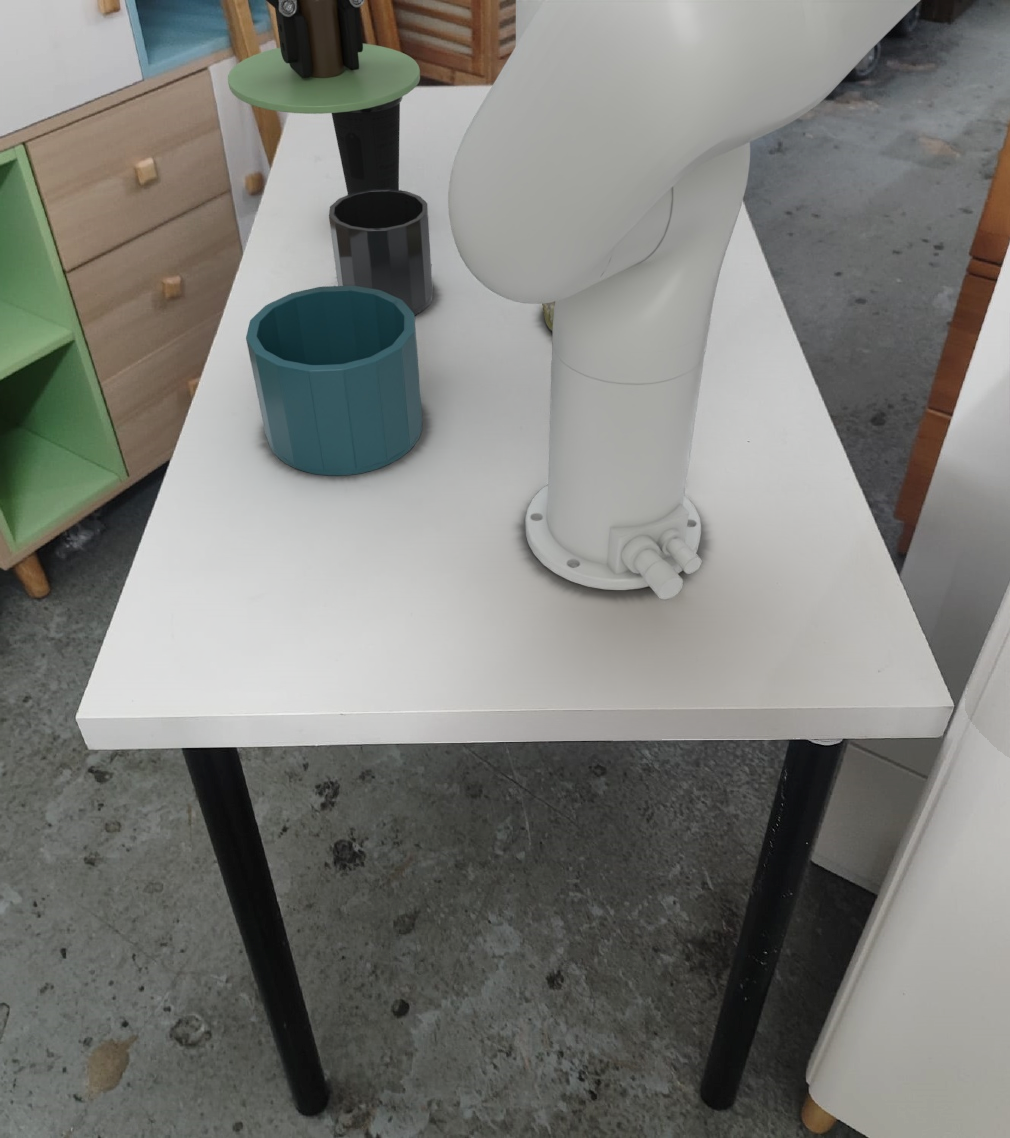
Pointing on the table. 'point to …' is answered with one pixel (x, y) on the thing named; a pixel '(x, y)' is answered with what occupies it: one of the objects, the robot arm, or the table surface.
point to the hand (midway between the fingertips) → (324, 65)
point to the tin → (337, 378)
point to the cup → (384, 244)
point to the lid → (324, 72)
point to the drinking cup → (369, 146)
